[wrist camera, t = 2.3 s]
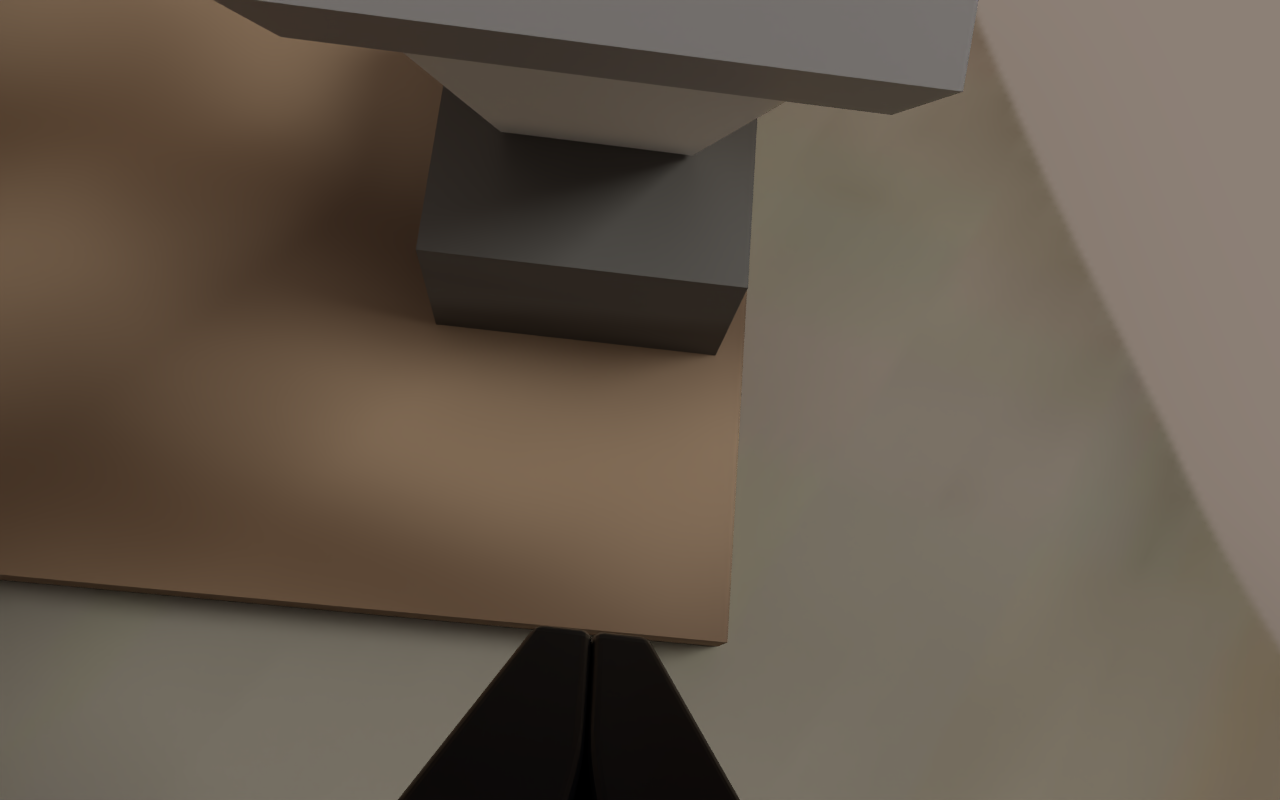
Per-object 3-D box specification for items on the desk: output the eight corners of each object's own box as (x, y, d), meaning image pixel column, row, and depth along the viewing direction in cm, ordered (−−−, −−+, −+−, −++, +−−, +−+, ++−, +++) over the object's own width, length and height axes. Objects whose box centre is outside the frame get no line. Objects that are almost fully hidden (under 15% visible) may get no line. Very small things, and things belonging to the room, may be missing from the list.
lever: (709, 174, 16) (964, 89, 5) (479, 146, 16) (199, -8, 5) (725, 41, 16) (1040, -374, 4) (491, 10, 15) (220, -501, 4)
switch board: (716, 646, 18) (765, 626, 14) (-503, 532, 16) (-819, 477, 13) (755, -15, 22) (800, -169, 18) (-208, -144, 21) (-378, -338, 17)
